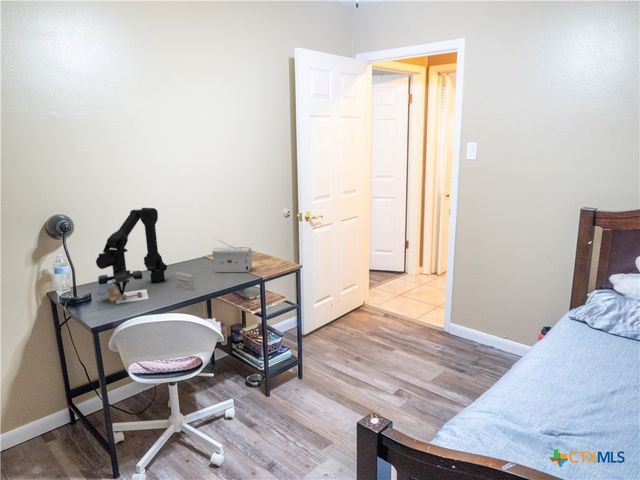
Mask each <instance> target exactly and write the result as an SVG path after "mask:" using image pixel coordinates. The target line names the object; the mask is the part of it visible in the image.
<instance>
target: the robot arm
mask: <svg viewBox="0 0 640 480" xmlns="http://www.w3.org/2000/svg"><path fill="white" fill-rule="evenodd" d="M158 215H159V212H158V210H157V209H156V208H154V207H142V208H141V209H132V210H130V212H129V215H128V216H127V217H126V219H125V220H124V221H123V223H122V225H121V226H119V229H118V230H116V231H115V232H113V233H112V234H111V235H109V237H108V238H107V240H106V244H105V245H104V247H103V250H102V252H103V253H102V252H101V253H99V254H98V257H97V258H96V260H95V263H96V266H97V267H98V268H99V269H100V270H104V269H107V268H110V267H112V275H110V276H108V274H102V275H99V276H98V279H97V283H98V282H99V284H106V283H107V282H108V281H111V280H112V285H116V286H117V288H118V289H119V291H120V292H121V294H122V295H123V294H124V293H125V290H126V286H127V284H128V283H130V279H131V278H133V280H142V279H143V273H142V271H141V270H133V271H132V273H131V270H129V269H127V266H126V265H127V264H126V255H125V253H127V252H128V251H129V250H128V249H127V248H125V247H126V245H127V243H128V242H129V235H130V234H131V233H132V231H133V229H134V228H135V226H136V225H137V224H138V222H139V221H141V222H142V225H144V230H145V231H144V233H145V240H146V249H147V250H146V251H147V254H145V255H146V256H144V257H143V261H144V263H143V264H144V266H145V268H146V270H147V272H150V273H149V278H150V283H152V284H159V283H165V282H166V279H165V278H166V277H165V272H166V271H167V269H168V265H167V264H166V263H165V262H163V257H162V255H161V253H159V251H158V243H157V242H158V241H157V232H156V224H157V222H158V220H159V218H158V217H159V216H158Z"/></svg>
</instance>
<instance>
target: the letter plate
mask: <svg viewBox="0 0 640 480" xmlns="http://www.w3.org/2000/svg"><path fill="white" fill-rule="evenodd" d="M148 299H149V295H148V292H147V289H146V288H145V289H140V290H131V291H126V292H125V291H124V294H123V295H122V296H121V297H120V298H118V299H116V300H115V302H116V304H124V303H127V302H128V303H129V302H135V301H141V300H148Z"/></svg>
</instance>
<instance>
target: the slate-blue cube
mask: <svg viewBox="0 0 640 480" xmlns="http://www.w3.org/2000/svg"><path fill="white" fill-rule="evenodd" d="M97 286H98V292H99V295H100V296H101V295H102V296H103V295H106V292H105V290H107V289H109V288H110V287H112V286H113V282H112V280H111V281H108V282H107V283H106V284H99V282H98V281H97Z"/></svg>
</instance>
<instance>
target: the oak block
mask: <svg viewBox="0 0 640 480" xmlns="http://www.w3.org/2000/svg"><path fill="white" fill-rule="evenodd" d="M105 292H106V294H105V295H106V296H107V297H108V299H109V300H110V301H111V302H116V299H118V298H120V297H121V296H122V294H121V292H120V291H119V289H118V287H117V286H116V285H115V284H113V285H112V287H110V288H109V289H107V290H105Z"/></svg>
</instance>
